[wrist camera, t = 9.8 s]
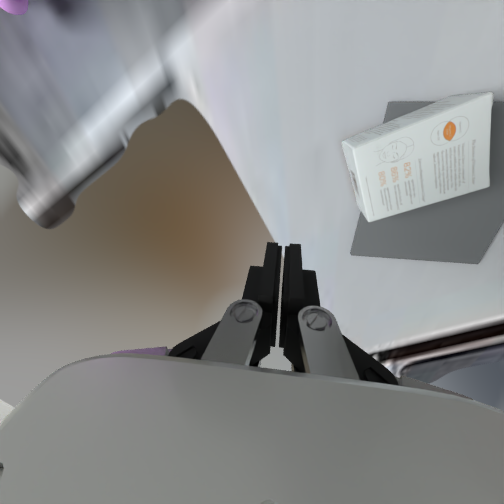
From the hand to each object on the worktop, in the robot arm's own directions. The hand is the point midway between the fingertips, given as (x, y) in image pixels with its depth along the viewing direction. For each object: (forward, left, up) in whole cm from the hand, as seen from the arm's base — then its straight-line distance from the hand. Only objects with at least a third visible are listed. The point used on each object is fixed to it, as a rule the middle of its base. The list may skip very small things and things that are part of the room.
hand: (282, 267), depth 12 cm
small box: (0, +7, -17) cm, 18 cm away
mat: (+1, +18, -20) cm, 27 cm away
